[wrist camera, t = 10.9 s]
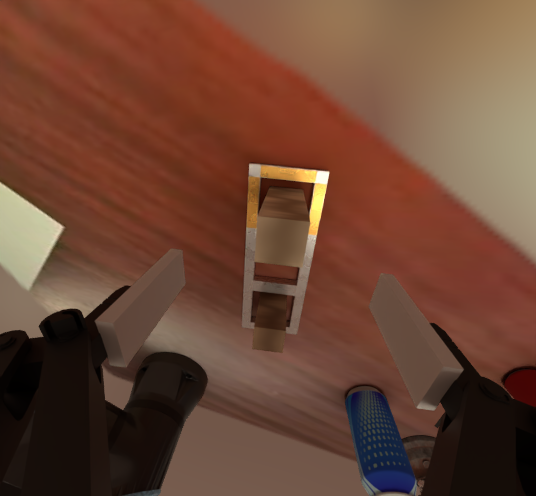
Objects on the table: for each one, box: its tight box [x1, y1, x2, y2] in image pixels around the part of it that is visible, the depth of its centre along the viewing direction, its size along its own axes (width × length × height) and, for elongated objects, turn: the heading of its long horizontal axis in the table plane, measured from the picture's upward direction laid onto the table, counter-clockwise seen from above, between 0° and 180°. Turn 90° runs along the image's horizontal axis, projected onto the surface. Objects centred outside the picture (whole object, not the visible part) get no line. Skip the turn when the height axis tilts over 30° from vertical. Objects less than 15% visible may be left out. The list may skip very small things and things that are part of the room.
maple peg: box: [254, 186, 311, 268], centre depth 26 cm, size 4×4×13 cm
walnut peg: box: [252, 292, 287, 353], centre depth 36 cm, size 4×4×8 cm
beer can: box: [345, 386, 417, 496], centre depth 42 cm, size 8×8×16 cm
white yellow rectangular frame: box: [242, 163, 329, 335], centre depth 35 cm, size 10×28×2 cm, turn 175°
